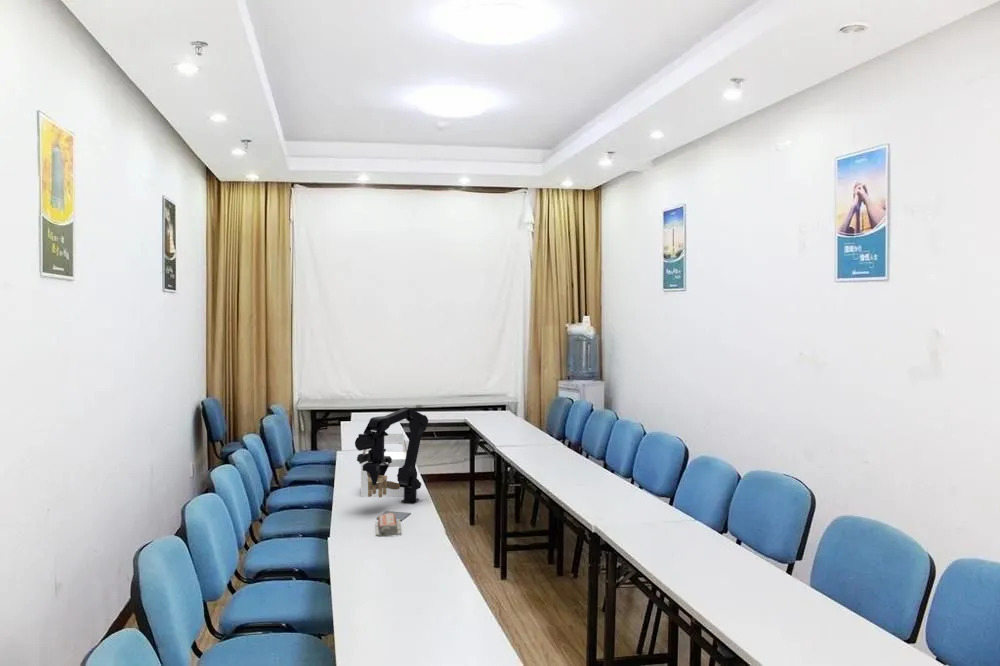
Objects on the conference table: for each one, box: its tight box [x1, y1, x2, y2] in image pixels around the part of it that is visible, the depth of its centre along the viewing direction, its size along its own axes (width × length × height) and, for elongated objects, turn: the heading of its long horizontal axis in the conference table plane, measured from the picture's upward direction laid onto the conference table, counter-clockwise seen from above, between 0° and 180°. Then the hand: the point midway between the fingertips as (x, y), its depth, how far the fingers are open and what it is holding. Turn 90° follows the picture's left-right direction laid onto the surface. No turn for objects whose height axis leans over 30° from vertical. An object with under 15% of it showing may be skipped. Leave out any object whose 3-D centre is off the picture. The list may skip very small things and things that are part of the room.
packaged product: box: [375, 513, 403, 537], centre depth 290 cm, size 18×5×10 cm
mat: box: [376, 510, 411, 522], centre depth 307 cm, size 11×11×1 cm
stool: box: [367, 475, 388, 498], centre depth 315 cm, size 6×6×8 cm
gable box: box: [360, 433, 409, 497], centre depth 345 cm, size 22×13×28 cm, turn 94°
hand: (377, 483), depth 315 cm, fingers closed on stool, 6 cm apart
